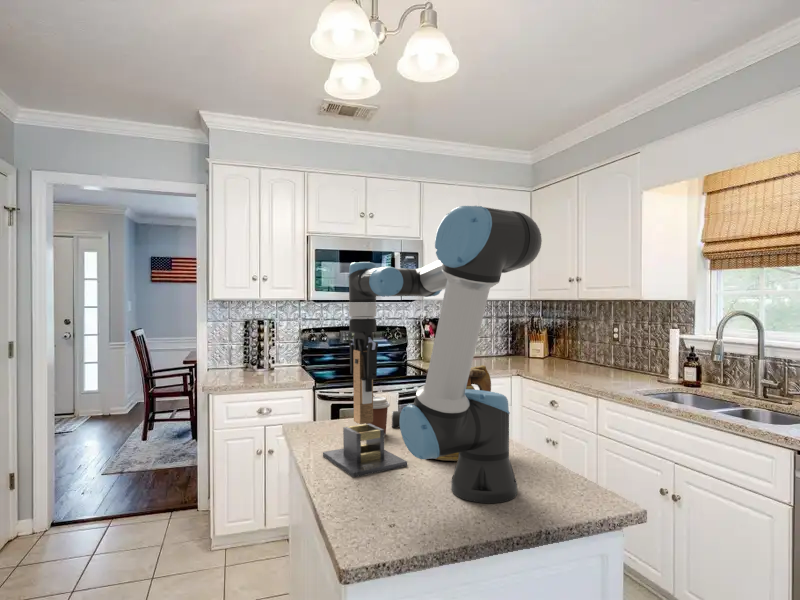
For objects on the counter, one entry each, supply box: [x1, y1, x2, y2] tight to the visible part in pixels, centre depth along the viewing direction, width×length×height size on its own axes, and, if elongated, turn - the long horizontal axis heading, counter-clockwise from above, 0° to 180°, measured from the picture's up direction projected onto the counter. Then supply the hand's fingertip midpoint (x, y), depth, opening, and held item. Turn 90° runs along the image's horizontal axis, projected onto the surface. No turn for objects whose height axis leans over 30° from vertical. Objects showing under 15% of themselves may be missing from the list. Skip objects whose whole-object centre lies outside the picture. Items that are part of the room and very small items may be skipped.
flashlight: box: [391, 410, 402, 428], centre depth 172 cm, size 15×5×5 cm, turn 88°
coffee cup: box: [366, 396, 391, 436], centre depth 161 cm, size 9×9×12 cm
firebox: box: [322, 423, 408, 478], centre depth 134 cm, size 20×16×9 cm
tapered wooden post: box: [353, 350, 374, 425], centre depth 134 cm, size 4×4×20 cm
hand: (363, 401), depth 134 cm, fingers closed on tapered wooden post, 4 cm apart
